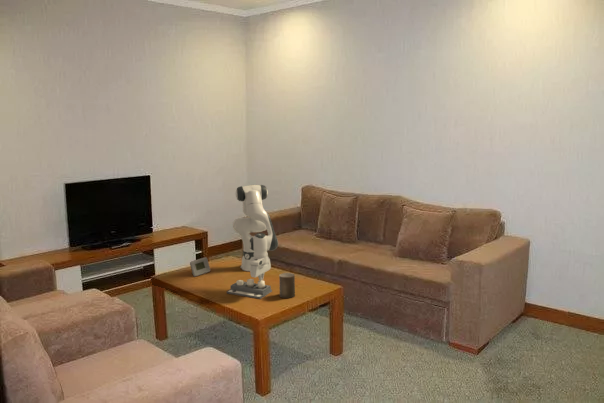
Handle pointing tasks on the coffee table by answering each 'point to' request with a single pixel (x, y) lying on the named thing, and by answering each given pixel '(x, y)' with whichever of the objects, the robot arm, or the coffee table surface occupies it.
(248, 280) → the button
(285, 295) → the pillar candle
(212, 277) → the coffee table surface
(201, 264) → the digital clock
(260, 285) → the button
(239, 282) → the button
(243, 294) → the board
